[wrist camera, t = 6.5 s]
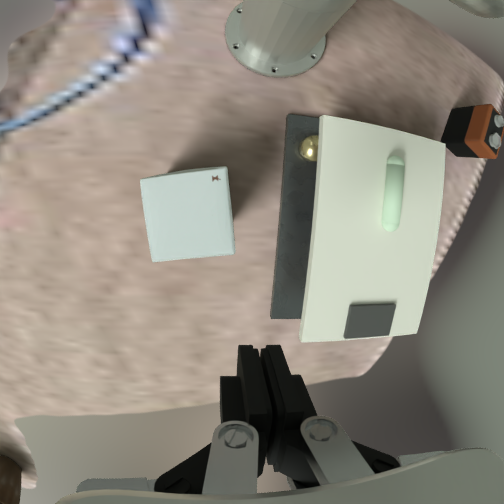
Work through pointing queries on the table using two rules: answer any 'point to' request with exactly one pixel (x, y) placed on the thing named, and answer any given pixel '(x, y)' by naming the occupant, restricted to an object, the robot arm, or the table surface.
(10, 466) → the plant pot
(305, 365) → the table surface
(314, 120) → the tribrach base
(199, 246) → the supplement box
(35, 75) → the table surface
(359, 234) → the level plate
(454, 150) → the battery
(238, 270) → the table surface
